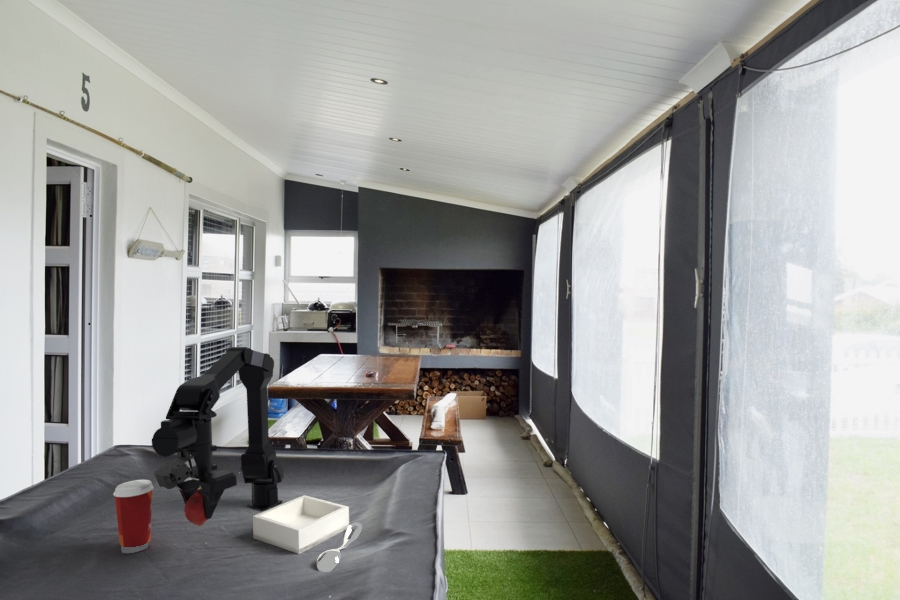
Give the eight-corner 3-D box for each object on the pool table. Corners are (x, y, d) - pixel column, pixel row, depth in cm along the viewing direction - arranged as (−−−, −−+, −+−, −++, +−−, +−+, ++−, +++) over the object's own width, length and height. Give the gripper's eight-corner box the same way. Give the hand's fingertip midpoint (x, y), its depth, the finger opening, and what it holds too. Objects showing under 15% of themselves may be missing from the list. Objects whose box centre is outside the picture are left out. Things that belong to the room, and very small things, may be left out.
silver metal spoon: (347, 513, 130) (366, 514, 129) (347, 528, 130) (367, 529, 129) (312, 559, 110) (335, 560, 109) (313, 577, 110) (336, 578, 109)
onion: (203, 532, 115) (202, 493, 115) (178, 530, 116) (177, 492, 116) (220, 520, 121) (219, 484, 121) (196, 519, 122) (195, 482, 122)
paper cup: (163, 542, 124) (161, 480, 124) (133, 558, 117) (131, 492, 117) (136, 538, 127) (134, 477, 127) (106, 553, 120) (103, 488, 120)
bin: (253, 538, 126) (252, 516, 126) (304, 515, 138) (304, 495, 138) (299, 554, 117) (298, 530, 117) (349, 528, 130) (348, 506, 130)
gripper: (135, 446, 117) (138, 520, 117) (186, 459, 107) (189, 540, 107) (185, 434, 126) (188, 502, 126) (237, 444, 116) (239, 519, 116)
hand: (199, 515), depth 119 cm, fingers closed on onion, 6 cm apart
